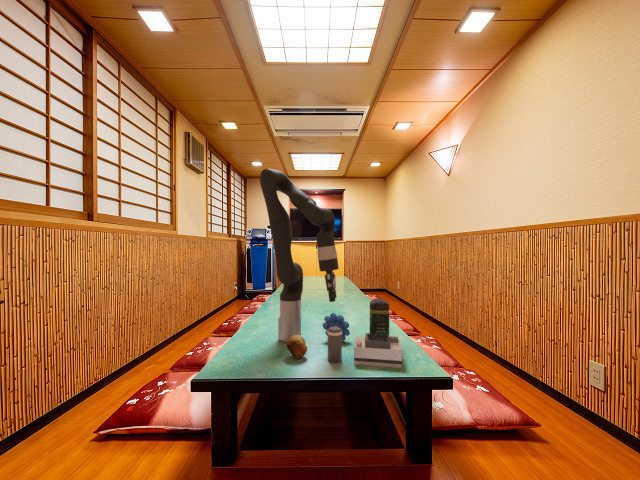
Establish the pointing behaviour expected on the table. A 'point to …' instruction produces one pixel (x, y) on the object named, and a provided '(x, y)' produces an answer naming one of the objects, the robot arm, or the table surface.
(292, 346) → the fruit
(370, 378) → the table surface
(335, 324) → the grapes
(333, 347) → the flashlight
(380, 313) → the coffee jar
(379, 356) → the box with square recess
